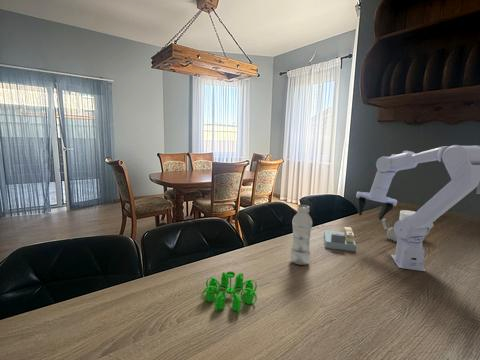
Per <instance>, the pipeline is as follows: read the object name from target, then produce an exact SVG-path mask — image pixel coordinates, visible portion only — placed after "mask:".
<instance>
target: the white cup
mask: <svg viewBox="0 0 480 360" xmlns="http://www.w3.org/2000/svg"><path fill="white" fill-rule="evenodd" d="M416 212H417V211H414V210H407V209H403V210H400V211H399V219H398V221H399V220H403V219H404V218H405V217H407V216H409V215H412V214H414V213H416Z"/></svg>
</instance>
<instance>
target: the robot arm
mask: <svg viewBox="0 0 480 360" xmlns="http://www.w3.org/2000/svg"><path fill="white" fill-rule="evenodd" d="M436 161H438V162H439V163H443V165H444V166H445V169H446V170H447V173H448V175H449V177H450V181H448V182H447V184H445V185H444V186H443V188H441V189H440V190H439V191H437V192H436V193H435V194H434V195H433V196H432V197H431V198H430V199H429V200H428V201H426V202H425V203H424V204H423V205H422V206H421V207H420V208H418V210H417V211H415V212H416V213H414V214H412V215H409V216H407V217H405V218H404V219H403V220H399V219H398V220H397V221H396V222H394V225H393V228H394V232H395V234H396V235H397V236H396V237H398V239H397V241H396V247H395V254H391V255H390V257H391V259H392V260H393V262H394V263H395V265H396V266H397V267H398V268H399V269H405V270H413V271H420V272H426V269H425V267H424V261H425V255H426V252H425V249H424V247H423V241H424V240H425V237H426V236H428V235H429V233H430V231H431V229H432V228H433V227H434V223H433V222H435V221H436V220H437V219H438V218H440V217H441V216H442V215H444V214H445V213H446V212H448V210H450V209H452V208H453V207H454V206H455V205H456V204H457V203H458V202H460V201H461V200H463V198H465V197H466V196H467V195H468V194H471V192H473V191H474V189H476V188H477V187H478V185H479V184H480V145H477V144H476V145H459V144H453V145H450V146H448V145H447V146H445V145H444V146H439V147H437V148H432V149H429V150H424V151H421V152H418V153H415V151H409V150H403V151H402V153H399V154H396V153H392V154H391V155H390V156H384V155H383V156H381V157H379V158H377V160H376V162H375V166H376V169H377V170H376V173H375V177H374V180H373V182H372V185H371V188H370V190H369V192H368V191H367V192H365V191H364V192H363V191H357V192H356V195H355V196H356V197H355V198H357V199H358V209H359V210H358V215H359V216H362V214H363V210H364V208H365V206H366V204H367V201H366V200H369V201H374V202H379V203H382V206H381V210H380V211H379V214H378V220H380V221H382V220H383V218H384V217H385V216H386V215H387V214H388V213H389V212H390V211H391V210H393V208H394V206H395V207H396V206H397V204H398V200H397V199H395V198H391V197H390V196H389V197H388V196H387V194H388V192H389V189H390V186H391V183H392V180H393V179H394V176H396V173H397V172H399V171H403V170H404V171H405V170H409V169H414V168H416V167H417V166H418V164H422V163H429V162H436Z"/></svg>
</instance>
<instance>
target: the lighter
mask: <svg viewBox="0 0 480 360" xmlns="http://www.w3.org/2000/svg"><path fill="white" fill-rule="evenodd" d="M381 223H382V227H383V228H384V230H386V235H385V236H386V237H385V238H386V239H387V238H388V240H390V239H391V240H390V241H392V240H393V241H392V242H395V241H396V242H397V239H398V237H396V236H397V235H396V234H395V232H394V226H393V227H392V226H391V227H390V226H389V223H388V220H387V218H384V219H383V218H382V219H381Z"/></svg>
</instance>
